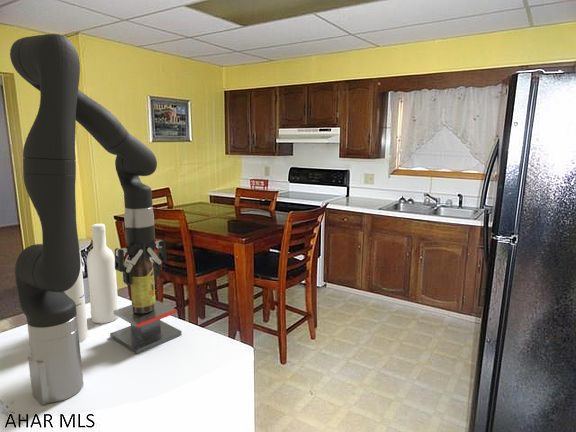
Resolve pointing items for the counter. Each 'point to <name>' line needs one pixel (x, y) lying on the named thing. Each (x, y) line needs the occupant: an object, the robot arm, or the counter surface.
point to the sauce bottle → (142, 283)
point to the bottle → (102, 278)
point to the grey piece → (145, 328)
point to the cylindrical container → (79, 305)
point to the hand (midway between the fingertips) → (142, 280)
